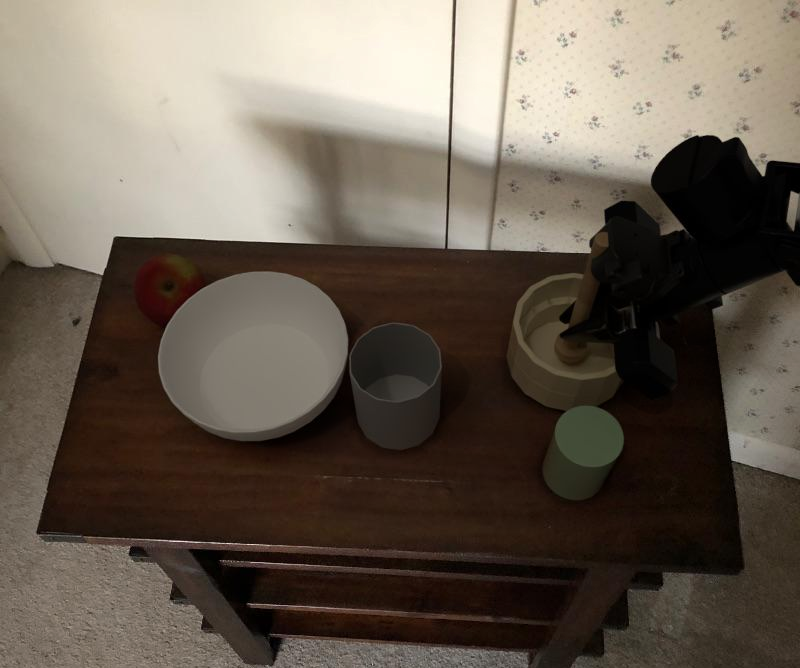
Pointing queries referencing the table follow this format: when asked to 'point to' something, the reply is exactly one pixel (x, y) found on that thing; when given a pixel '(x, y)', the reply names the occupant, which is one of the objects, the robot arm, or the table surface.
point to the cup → (396, 385)
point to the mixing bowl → (538, 360)
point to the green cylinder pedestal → (582, 452)
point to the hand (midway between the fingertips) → (561, 329)
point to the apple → (166, 286)
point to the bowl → (254, 355)
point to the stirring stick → (582, 305)
